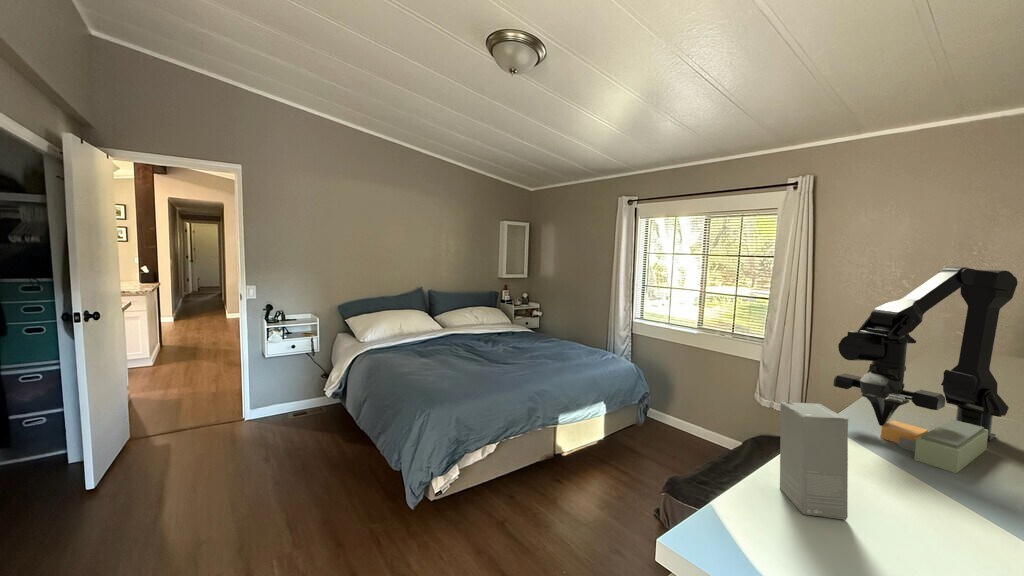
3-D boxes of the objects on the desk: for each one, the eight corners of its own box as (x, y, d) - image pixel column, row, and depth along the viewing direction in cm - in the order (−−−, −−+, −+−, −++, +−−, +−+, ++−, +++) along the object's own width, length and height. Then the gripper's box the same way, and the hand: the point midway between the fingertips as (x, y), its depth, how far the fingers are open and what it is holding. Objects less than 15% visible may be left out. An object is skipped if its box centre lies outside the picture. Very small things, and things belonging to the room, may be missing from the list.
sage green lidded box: (923, 432, 98) (925, 412, 98) (986, 449, 90) (988, 427, 89) (888, 451, 87) (891, 428, 87) (956, 473, 78) (959, 447, 78)
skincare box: (848, 522, 62) (857, 420, 61) (796, 515, 63) (803, 415, 62) (818, 491, 70) (825, 402, 69) (772, 486, 72) (779, 398, 71)
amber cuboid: (892, 434, 98) (893, 420, 98) (926, 444, 93) (928, 429, 93) (880, 440, 94) (881, 425, 94) (915, 451, 89) (917, 435, 89)
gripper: (825, 355, 99) (820, 417, 100) (932, 375, 83) (924, 448, 84) (846, 351, 105) (840, 410, 106) (949, 369, 89) (941, 438, 90)
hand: (882, 425), depth 96 cm, fingers closed
